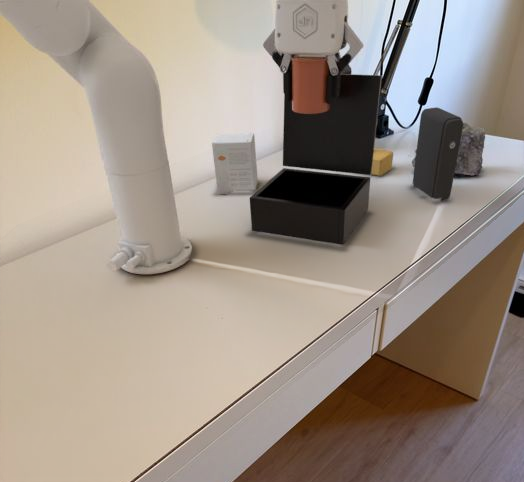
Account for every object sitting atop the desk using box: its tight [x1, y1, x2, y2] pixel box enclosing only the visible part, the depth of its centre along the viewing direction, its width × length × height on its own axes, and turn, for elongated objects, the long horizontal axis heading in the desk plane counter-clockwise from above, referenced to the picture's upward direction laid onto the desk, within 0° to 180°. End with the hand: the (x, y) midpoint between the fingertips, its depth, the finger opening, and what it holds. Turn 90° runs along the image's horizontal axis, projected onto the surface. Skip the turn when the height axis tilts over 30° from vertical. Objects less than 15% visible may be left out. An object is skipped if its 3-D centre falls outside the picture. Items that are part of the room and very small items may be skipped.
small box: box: [211, 132, 259, 195], centre depth 107 cm, size 8×6×10 cm
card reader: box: [412, 107, 464, 202], centre depth 99 cm, size 9×4×15 cm, turn 16°
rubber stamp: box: [371, 116, 394, 177], centre depth 112 cm, size 10×6×12 cm, turn 53°
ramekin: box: [290, 54, 330, 114], centre depth 81 cm, size 7×7×8 cm
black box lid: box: [282, 73, 383, 176], centre depth 94 cm, size 16×17×4 cm
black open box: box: [249, 167, 371, 246], centre depth 93 cm, size 15×17×7 cm
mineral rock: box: [411, 122, 486, 177], centre depth 109 cm, size 13×11×10 cm
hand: (311, 99), depth 83 cm, fingers closed on ramekin, 6 cm apart
